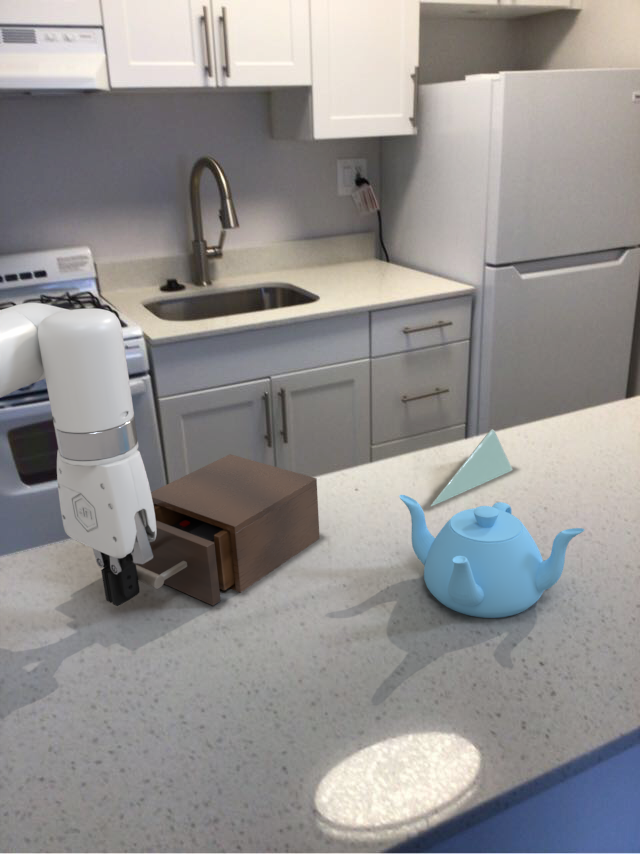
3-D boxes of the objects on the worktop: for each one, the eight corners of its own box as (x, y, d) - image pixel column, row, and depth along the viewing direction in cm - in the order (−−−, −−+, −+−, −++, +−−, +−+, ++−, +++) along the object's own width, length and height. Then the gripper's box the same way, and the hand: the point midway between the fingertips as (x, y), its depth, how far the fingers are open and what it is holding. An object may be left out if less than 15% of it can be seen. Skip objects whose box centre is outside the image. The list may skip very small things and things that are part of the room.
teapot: (511, 550, 92) (515, 473, 88) (583, 619, 78) (591, 531, 75) (398, 572, 89) (397, 493, 85) (453, 648, 75) (455, 557, 71)
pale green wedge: (477, 524, 98) (527, 453, 110) (437, 494, 99) (491, 427, 111) (451, 556, 103) (501, 486, 115) (413, 527, 105) (467, 460, 117)
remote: (227, 575, 86) (224, 550, 84) (167, 551, 91) (164, 527, 90) (253, 558, 89) (251, 534, 88) (194, 535, 95) (191, 512, 94)
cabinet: (241, 598, 85) (234, 526, 82) (154, 561, 93) (145, 494, 90) (320, 543, 96) (316, 478, 92) (235, 514, 104) (230, 453, 101)
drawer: (179, 628, 78) (171, 567, 76) (99, 589, 86) (89, 532, 84) (291, 552, 92) (288, 498, 89) (213, 524, 100) (208, 473, 97)
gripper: (20, 435, 75) (51, 592, 82) (114, 467, 67) (141, 640, 73) (83, 413, 81) (108, 562, 87) (178, 440, 72) (198, 603, 79)
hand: (123, 597), depth 80 cm, fingers closed
